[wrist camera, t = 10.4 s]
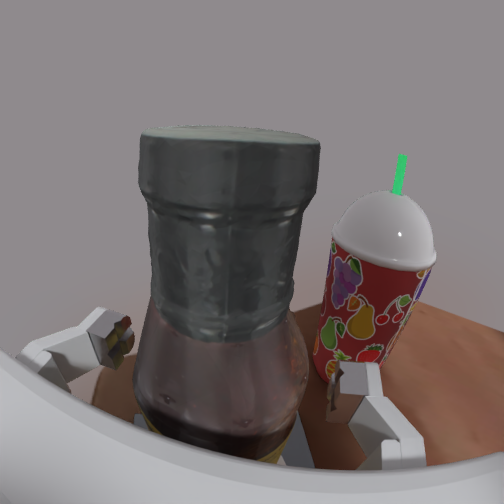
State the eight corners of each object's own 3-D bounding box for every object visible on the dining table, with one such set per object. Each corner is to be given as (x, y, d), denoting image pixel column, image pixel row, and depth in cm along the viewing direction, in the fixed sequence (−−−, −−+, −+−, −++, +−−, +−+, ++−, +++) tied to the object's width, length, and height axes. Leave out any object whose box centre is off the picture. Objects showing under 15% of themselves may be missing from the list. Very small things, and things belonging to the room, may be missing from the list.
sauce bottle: (167, 446, 17) (112, 128, 8) (250, 432, 18) (285, 130, 10) (186, 525, 11) (40, 138, 3) (282, 505, 13) (423, 154, 5)
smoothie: (396, 371, 25) (469, 173, 16) (345, 416, 20) (438, 169, 12) (339, 330, 31) (381, 147, 22) (284, 361, 26) (320, 139, 18)
